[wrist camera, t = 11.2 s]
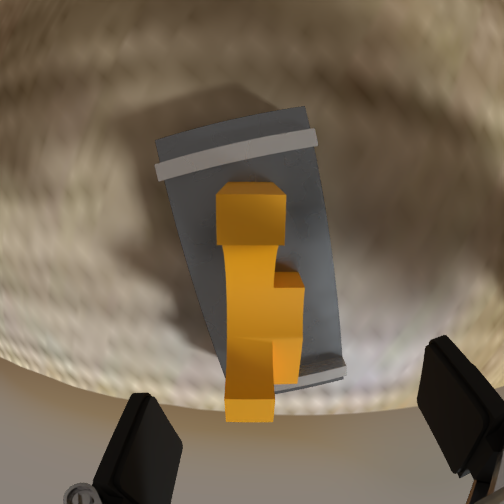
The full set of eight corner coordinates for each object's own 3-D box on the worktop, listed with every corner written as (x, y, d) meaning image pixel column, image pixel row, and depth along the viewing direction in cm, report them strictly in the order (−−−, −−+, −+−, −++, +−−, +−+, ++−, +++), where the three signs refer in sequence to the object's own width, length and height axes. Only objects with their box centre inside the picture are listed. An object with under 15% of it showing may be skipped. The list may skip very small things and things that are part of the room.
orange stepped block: (291, 354, 21) (304, 420, 14) (231, 354, 21) (226, 421, 14) (302, 182, 17) (332, 196, 11) (228, 181, 17) (215, 194, 11)
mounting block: (292, 117, 20) (308, 102, 14) (329, 344, 26) (347, 388, 20) (174, 144, 21) (148, 139, 15) (235, 363, 27) (233, 410, 21)
